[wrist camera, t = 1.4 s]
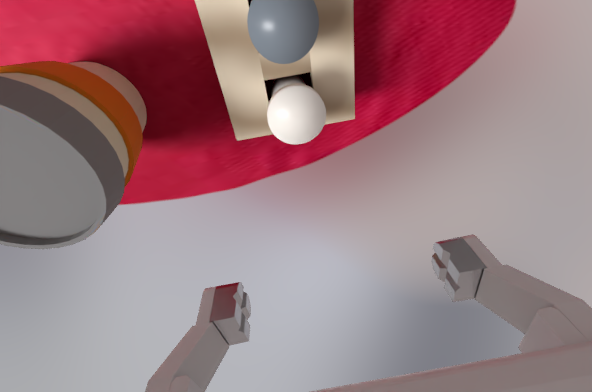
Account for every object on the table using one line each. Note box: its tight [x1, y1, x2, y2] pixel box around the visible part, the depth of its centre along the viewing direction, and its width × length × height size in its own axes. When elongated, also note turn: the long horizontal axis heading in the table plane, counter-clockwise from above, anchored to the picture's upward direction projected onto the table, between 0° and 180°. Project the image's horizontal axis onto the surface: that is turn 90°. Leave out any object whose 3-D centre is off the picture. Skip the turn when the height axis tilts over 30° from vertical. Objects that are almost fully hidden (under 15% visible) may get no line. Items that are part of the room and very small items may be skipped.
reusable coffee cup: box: [0, 61, 147, 249], centre depth 24 cm, size 13×13×15 cm
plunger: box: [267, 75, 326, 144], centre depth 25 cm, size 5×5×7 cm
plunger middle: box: [247, 0, 319, 64], centre depth 21 cm, size 5×5×7 cm
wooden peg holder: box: [195, 0, 355, 141], centre depth 24 cm, size 19×12×6 cm, turn 8°
